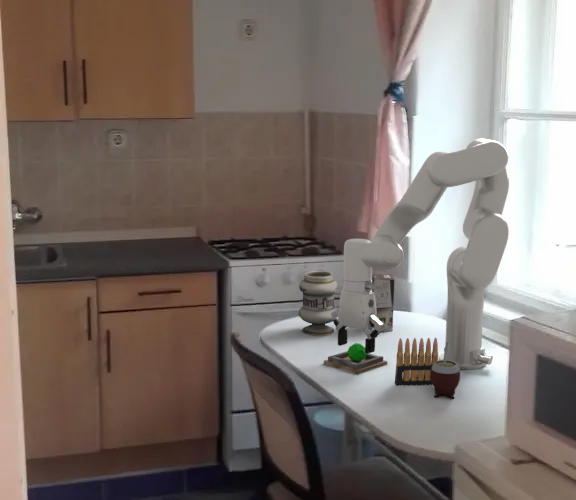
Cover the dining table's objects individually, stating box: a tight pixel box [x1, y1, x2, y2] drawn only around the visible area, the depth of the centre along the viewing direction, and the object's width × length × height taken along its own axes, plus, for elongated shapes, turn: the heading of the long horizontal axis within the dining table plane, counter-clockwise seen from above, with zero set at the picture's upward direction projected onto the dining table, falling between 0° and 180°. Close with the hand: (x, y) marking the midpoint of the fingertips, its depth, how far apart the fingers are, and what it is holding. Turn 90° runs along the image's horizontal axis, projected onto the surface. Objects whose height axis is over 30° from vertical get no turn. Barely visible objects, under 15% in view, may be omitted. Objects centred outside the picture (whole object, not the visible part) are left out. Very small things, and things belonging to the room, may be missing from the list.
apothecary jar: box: [298, 270, 339, 337], centre depth 258 cm, size 12×12×18 cm
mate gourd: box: [430, 341, 461, 400], centre depth 204 cm, size 8×8×15 cm
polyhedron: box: [347, 343, 366, 362], centre depth 228 cm, size 5×5×5 cm
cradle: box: [323, 350, 388, 375], centre depth 228 cm, size 12×12×2 cm
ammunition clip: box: [394, 337, 439, 387], centre depth 212 cm, size 11×2×12 cm, turn 94°
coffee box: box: [372, 273, 395, 332], centre depth 264 cm, size 9×6×16 cm
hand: (355, 348), depth 228 cm, fingers open, 9 cm apart
